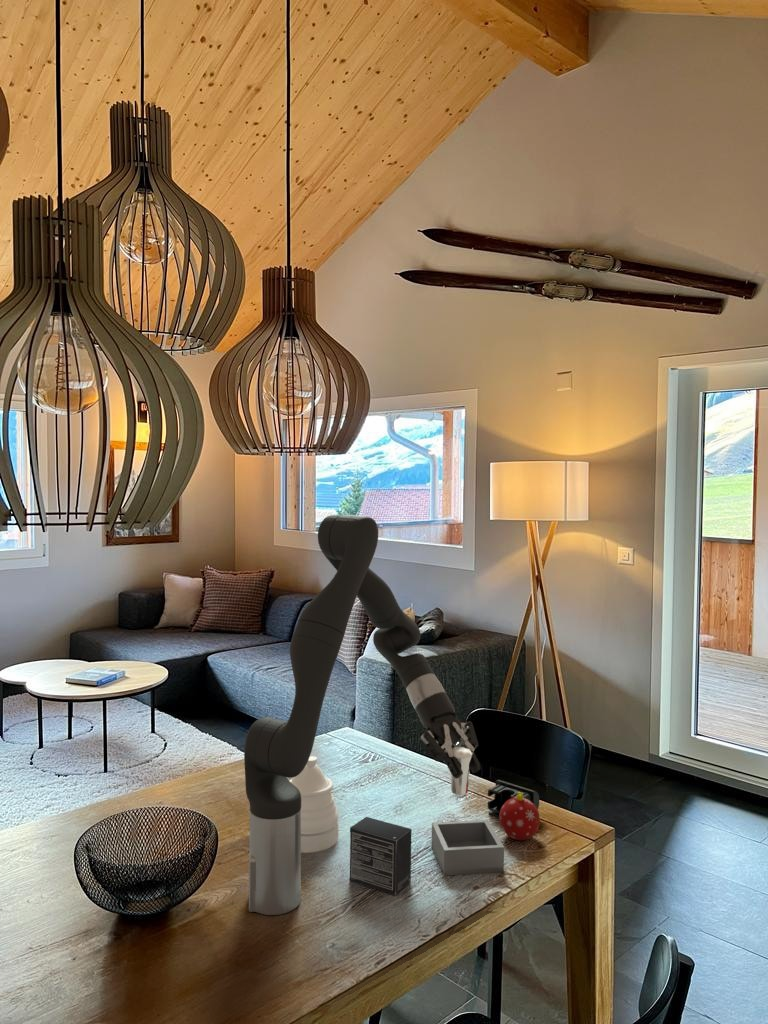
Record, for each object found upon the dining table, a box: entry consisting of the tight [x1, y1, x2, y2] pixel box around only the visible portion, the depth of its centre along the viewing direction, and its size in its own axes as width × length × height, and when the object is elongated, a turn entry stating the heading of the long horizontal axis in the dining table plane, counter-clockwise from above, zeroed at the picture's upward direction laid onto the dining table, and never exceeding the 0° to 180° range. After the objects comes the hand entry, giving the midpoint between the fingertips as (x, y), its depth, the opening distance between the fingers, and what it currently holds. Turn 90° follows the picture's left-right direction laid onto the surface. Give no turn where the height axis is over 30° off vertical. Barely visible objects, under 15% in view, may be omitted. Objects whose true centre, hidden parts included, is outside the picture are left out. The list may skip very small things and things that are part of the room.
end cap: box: [487, 779, 540, 819], centre depth 176 cm, size 10×7×7 cm
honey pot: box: [289, 755, 340, 854], centre depth 163 cm, size 13×13×18 cm
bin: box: [431, 819, 505, 876], centre depth 156 cm, size 12×12×5 cm
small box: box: [348, 816, 412, 896], centre depth 147 cm, size 11×6×10 cm, turn 59°
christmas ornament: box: [498, 792, 541, 841], centre depth 165 cm, size 9×9×10 cm
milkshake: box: [450, 745, 477, 796], centre depth 157 cm, size 4×5×10 cm
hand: (468, 773), depth 155 cm, fingers closed on milkshake, 4 cm apart
